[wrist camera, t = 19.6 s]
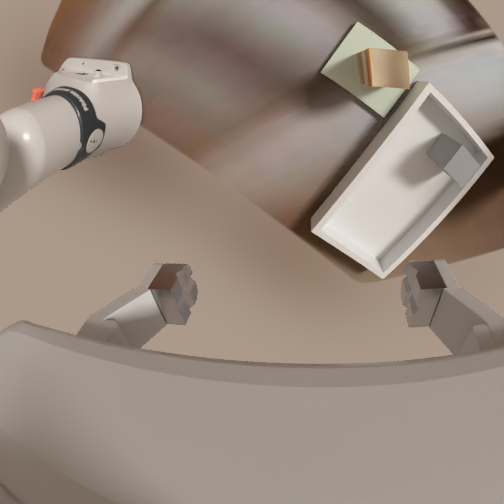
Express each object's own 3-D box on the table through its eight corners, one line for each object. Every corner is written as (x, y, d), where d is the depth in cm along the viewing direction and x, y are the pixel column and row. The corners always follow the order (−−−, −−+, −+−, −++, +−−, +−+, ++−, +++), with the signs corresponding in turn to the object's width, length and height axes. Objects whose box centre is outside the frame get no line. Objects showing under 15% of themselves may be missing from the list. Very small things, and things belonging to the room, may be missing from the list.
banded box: (358, 83, 33) (372, 86, 26) (355, 53, 30) (368, 48, 23) (389, 85, 32) (410, 89, 25) (386, 55, 29) (407, 51, 22)
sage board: (320, 72, 34) (320, 72, 33) (356, 22, 28) (357, 21, 27) (382, 116, 36) (383, 117, 35) (417, 69, 30) (419, 69, 29)
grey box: (425, 153, 36) (443, 168, 31) (442, 132, 34) (462, 144, 28) (443, 171, 37) (462, 188, 31) (459, 151, 34) (480, 166, 29)
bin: (311, 217, 48) (311, 231, 44) (417, 80, 31) (428, 82, 27) (378, 263, 50) (383, 279, 47) (480, 149, 34) (494, 157, 30)
